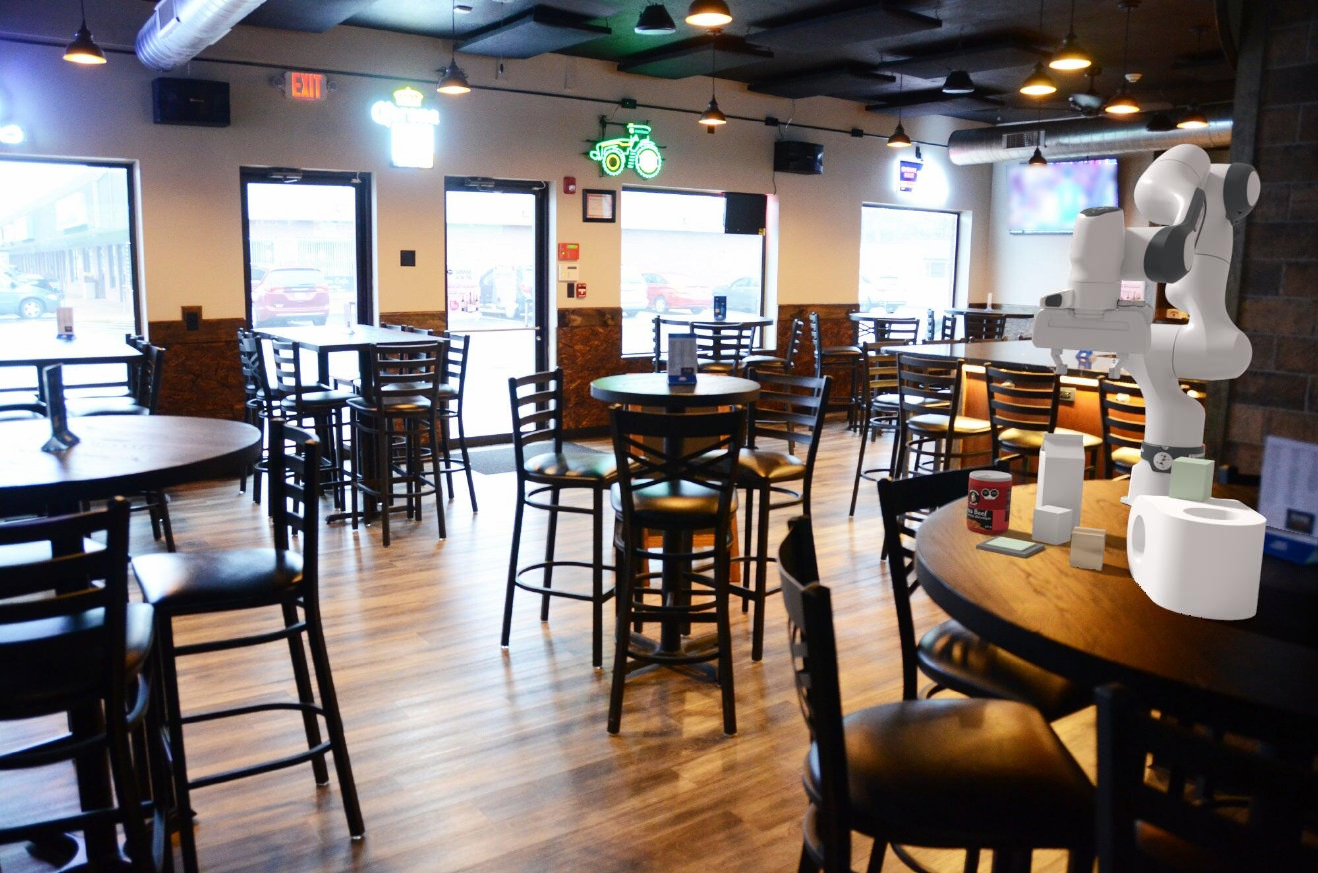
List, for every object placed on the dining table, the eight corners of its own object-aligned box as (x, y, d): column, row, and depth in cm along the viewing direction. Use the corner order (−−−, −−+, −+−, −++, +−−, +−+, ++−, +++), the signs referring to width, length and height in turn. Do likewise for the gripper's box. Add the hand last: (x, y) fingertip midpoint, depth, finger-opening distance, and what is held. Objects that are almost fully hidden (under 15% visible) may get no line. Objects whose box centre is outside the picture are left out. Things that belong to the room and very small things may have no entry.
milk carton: (1079, 536, 199) (1086, 437, 196) (1039, 533, 200) (1047, 436, 197) (1072, 527, 206) (1079, 432, 203) (1034, 524, 207) (1041, 430, 204)
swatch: (997, 539, 196) (997, 534, 196) (1044, 548, 190) (1044, 543, 190) (976, 548, 189) (976, 543, 189) (1024, 557, 184) (1024, 553, 183)
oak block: (1072, 559, 183) (1074, 526, 182) (1103, 563, 181) (1105, 529, 180) (1069, 566, 179) (1072, 532, 178) (1100, 570, 177) (1103, 536, 176)
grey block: (1045, 535, 199) (1047, 505, 198) (1070, 541, 196) (1072, 509, 195) (1031, 539, 196) (1033, 508, 195) (1056, 545, 192) (1058, 513, 191)
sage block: (1177, 492, 172) (1181, 456, 171) (1210, 497, 169) (1214, 460, 168) (1168, 497, 168) (1172, 460, 167) (1202, 502, 165) (1206, 464, 164)
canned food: (957, 526, 205) (961, 471, 203) (990, 523, 208) (993, 469, 206) (984, 536, 198) (987, 479, 196) (1017, 532, 201) (1021, 476, 199)
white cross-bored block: (1271, 623, 151) (1214, 574, 176) (1282, 528, 149) (1222, 491, 173) (1166, 616, 154) (1123, 568, 178) (1175, 522, 152) (1131, 486, 176)
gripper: (1160, 300, 182) (1153, 379, 184) (1044, 297, 196) (1039, 370, 198) (1148, 301, 178) (1141, 382, 180) (1031, 297, 191) (1025, 372, 193)
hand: (1087, 376), depth 189 cm, fingers open, 8 cm apart
